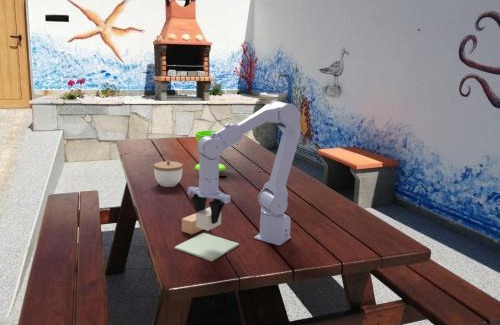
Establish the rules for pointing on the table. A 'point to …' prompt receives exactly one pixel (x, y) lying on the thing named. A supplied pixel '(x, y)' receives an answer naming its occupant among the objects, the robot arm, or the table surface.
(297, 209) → the table surface
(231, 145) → the robot arm
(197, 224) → the cream brick
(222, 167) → the wineglass
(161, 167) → the lidded bowl
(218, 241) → the baseplate
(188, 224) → the tan brick
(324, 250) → the table surface
